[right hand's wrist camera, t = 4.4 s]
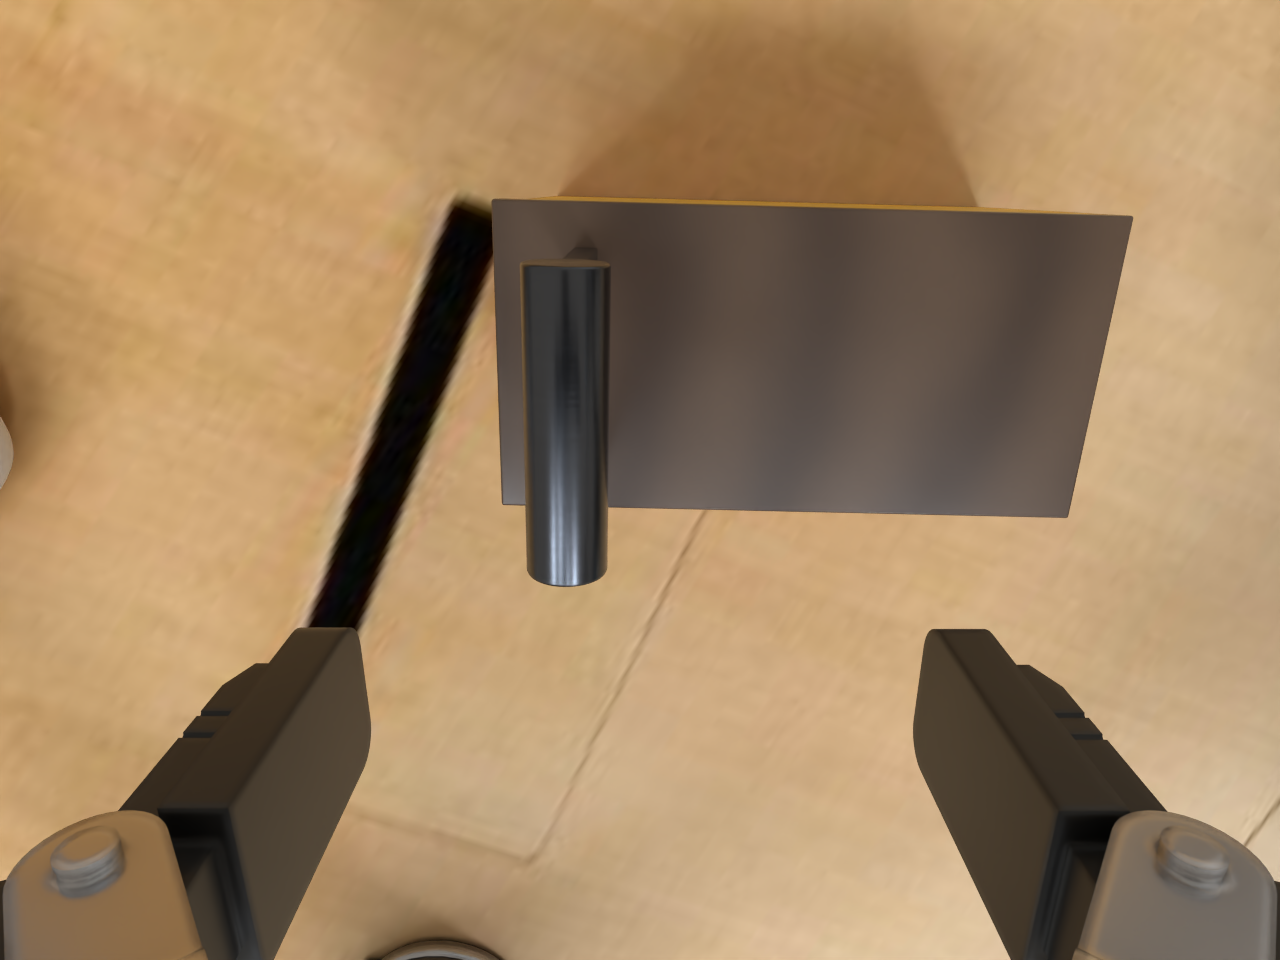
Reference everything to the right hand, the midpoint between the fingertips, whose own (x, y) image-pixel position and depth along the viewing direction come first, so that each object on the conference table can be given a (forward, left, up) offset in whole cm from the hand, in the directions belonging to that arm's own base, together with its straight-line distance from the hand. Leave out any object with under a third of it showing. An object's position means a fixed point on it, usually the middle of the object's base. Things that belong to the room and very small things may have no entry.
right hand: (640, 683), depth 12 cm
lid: (+5, +1, -16) cm, 16 cm away
